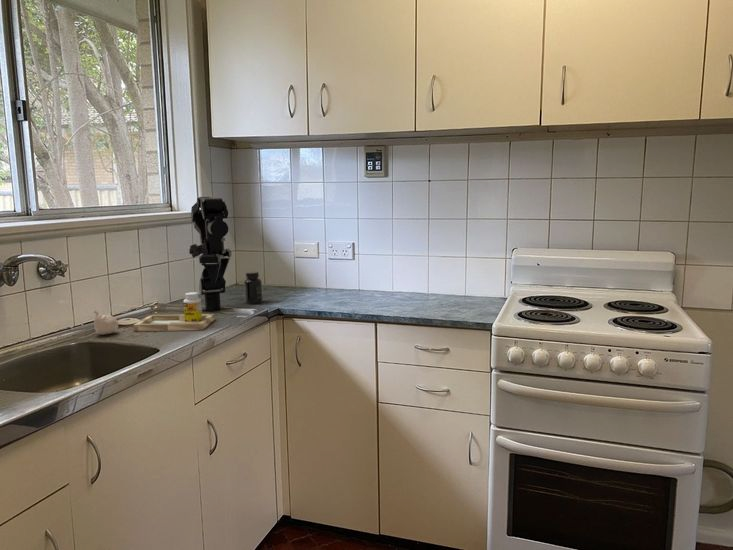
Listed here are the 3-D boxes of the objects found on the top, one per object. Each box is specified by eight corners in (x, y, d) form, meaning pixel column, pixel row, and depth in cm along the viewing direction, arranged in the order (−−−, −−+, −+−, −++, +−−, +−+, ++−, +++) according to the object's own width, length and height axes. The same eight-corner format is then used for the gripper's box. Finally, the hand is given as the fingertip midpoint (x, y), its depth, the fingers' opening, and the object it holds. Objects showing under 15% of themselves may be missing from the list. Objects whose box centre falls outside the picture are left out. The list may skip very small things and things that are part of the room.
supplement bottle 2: (260, 300, 220) (258, 270, 218) (265, 303, 214) (263, 272, 212) (243, 302, 217) (241, 272, 215) (247, 305, 211) (245, 274, 209)
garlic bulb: (101, 331, 176) (99, 307, 174) (122, 331, 176) (119, 306, 174) (92, 337, 169) (89, 311, 168) (112, 336, 169) (110, 311, 168)
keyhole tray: (150, 320, 189) (150, 314, 189) (214, 319, 189) (214, 313, 189) (133, 331, 175) (133, 325, 175) (202, 330, 175) (202, 323, 175)
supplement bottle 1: (181, 325, 181) (178, 294, 179) (192, 321, 186) (190, 291, 184) (195, 326, 179) (193, 295, 177) (205, 322, 184) (204, 292, 182)
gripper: (199, 233, 197) (202, 276, 199) (182, 238, 178) (185, 285, 181) (230, 233, 197) (233, 276, 199) (216, 237, 178) (219, 285, 181)
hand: (217, 280), depth 190 cm, fingers open, 9 cm apart
